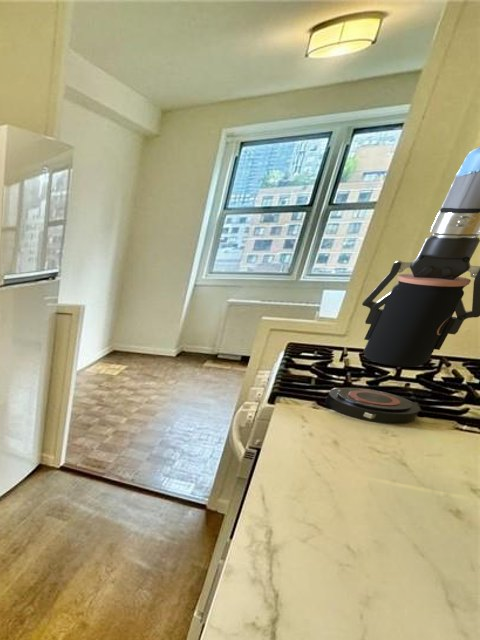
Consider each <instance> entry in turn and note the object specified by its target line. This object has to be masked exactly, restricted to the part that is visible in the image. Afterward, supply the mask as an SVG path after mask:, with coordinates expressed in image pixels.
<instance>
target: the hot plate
mask: <svg viewBox="0 0 480 640" xmlns="http://www.w3.org/2000/svg"><path fill="white" fill-rule="evenodd" d="M324 404H325V405H326V407H327V408H329V409H330V410H331V411H332V410H333V412H334V411H335V412H336V413H339V414H342V415H344V416H347V417H349V418H354V419H357V420H362V421H366V422H371V423H378V424H386V425H404V424H405V425H406V424H411V423H413V422H414V421H415V420H416V418H417V416H418V414H419V413H420V411H421V407H420V405H418V404H417V403H416V402H414V401H412V400H410V399H408V398H405V397H402V396H399V395H397V394H393V393H390V392H386V391H380V390H378V389H377V390H376V389H370V388H361V387H337V388H333V389H331V390H329V391H328V393H327V396H326V398H325V401H324Z"/></svg>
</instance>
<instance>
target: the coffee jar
mask: <svg viewBox="0 0 480 640" xmlns="http://www.w3.org/2000/svg"><path fill="white" fill-rule="evenodd" d="M397 282H398V283H397V284H395V285H394V286H393V287H392V288H391V291H390V292H391V294H390V296H389V298H388V301H387V303H386V304H384V305H383V308H382V309H383V310H382V312H381V315H380V317H379V319H378V321H377V323H376V325H375V328H374V330H373V332H372V334H371V336H370V338H369V340H367V342H366V344H365V347H364V349H363V355H364V357H365V358H366V359H367V360H369V361H371V362H373V363H374V362H375V363H378V364H382V365H387V366H393V367H402V368H416V367H417V368H418V367H420V366H422V365H423V364H425V363H427V362H428V361H429V360H430V359H431V356H432V355H433V353H434V351H435V350H436V349H435V347H436V345H437V343H438V341H439V339H440V337H441V336H442V334H443V332H444V330H445V328H446V326H447V324H448V323H449V321H450V319H451V317H454V316H453V315H454V314H455V308H456V306H457V304H458V302H459V300H460V298H461V299H463V297H464V295H465V291H464V288H465V287H467V286H468V285H470V284H471V283H472V280H471V279H470V278H467V277H462V276H458V277H457V278H455V279H454V280H447V279H438V278H424V277H423V278H418V277H414V275H413V273H402V274H401V273H400V274H398V276H397Z"/></svg>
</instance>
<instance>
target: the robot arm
mask: <svg viewBox="0 0 480 640" xmlns="http://www.w3.org/2000/svg"><path fill="white" fill-rule="evenodd" d="M446 194H447V195H446V197H445V199H444V201H443V203H442V205H441V208H440V210H439V212H438V213H437V215H436V217H435V220H434V222H433V224H432V226H431V228H430V231H429V233H430V234H431V235H429V236H428V237H426V238H425V241H424V243H423V245H422V247H421V249H420V251H419V253H418V255H417V257H416V259H414V260H413V261H402V260H396V261H395V262H394V263H393V264H392V266H391V269H390V272H389V273H388V274H387V275H386V276H385V277H384V278H383V279H382V281H381V282H379V284H378V285H377V286H376V287H375V288H374V289H373V290H372V291H371V292H370V294H369V295H368V296H367V297H366V298H365V299H364V300H363V301H362V304H361V305H362V307H367V308H368V309H369V312H368V315H367V316H366V319H365V320H364V323H365V325H370V326H369V328H368V330H367V332H366V334H365V337H364V341H368V340H369V338H370V336H371V334H372V332H373V330H374V328H375V325H376V323H377V321H378V319H379V317H380V315H381V312H382V310H383V308H382V307H384V306H385V304H386V303H387V301H388V298H389V296H390V294H391V291H390V292H389V293H387V294H386V295H385V296H383V297H381V298H380V299H379V300H377V301H374V300H375V299H376V298H377V297H378V296H379V295H380V293H381V292H382V291H383V290H384V289H385V288H386V287H387V286H388V285H389V284H390V283H391V282H392V280H394V278H395V277H396V276H397V275H398V274H399V273H400V274H401V273H403V272H404V271H405V270H407V269H408V268H409V269H410V272H411V274H413V275H414V277H418V278H423V277H424V278H438V279H447V280H454V279H455V278H457V277H461V276H462V275H463V274H465V273H467V272H469V273H470V277H471V278H472V279H473V287H472V288H473V289H472V302H471V303H472V305H471V310H466V308H465V304H464V302H463V300H462V299H463V298H462V299H461V298H460V300H459V302H458V304H457V306H456V308H455V312H454V314H455V315H456V316H452V317H451V319H450V321H449V323H448V324H447V326H446V328H445V330H444V332H443V334H442V336H441V337H440V339H439V341H438V343H437V345H436V347H435V349H434V350H437V351H440V350H441V348H442V346H443V345H444V343H445V341H446V339H447V337H448V335H456V334H457V333H458V332H459V331H460V328H461V327H462V325H463V323H464V321H465V320H468V319H472V318H474V319H475V318H476V319H477V318H479V317H480V265H471V263H470V262H471V259H472V258H473V255H474V254H475V252H476V249H477V248H478V245H479V244H480V237H479V236H480V147H476V148H474V149H472V150H470V152H468V153H467V155H466V156H465V158H464V160H463V162H462V164H461V165H460V167H459V169H458V171H457V173H456V174H455V176H454V180H453V181H452V183H451V186H450V188H449V190H448V192H447V193H446Z"/></svg>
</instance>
